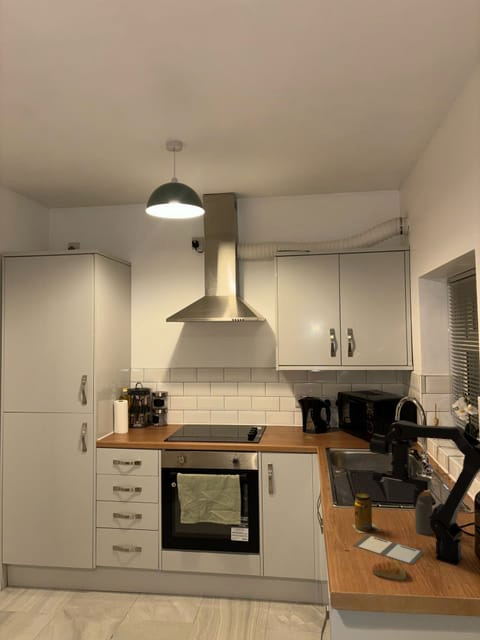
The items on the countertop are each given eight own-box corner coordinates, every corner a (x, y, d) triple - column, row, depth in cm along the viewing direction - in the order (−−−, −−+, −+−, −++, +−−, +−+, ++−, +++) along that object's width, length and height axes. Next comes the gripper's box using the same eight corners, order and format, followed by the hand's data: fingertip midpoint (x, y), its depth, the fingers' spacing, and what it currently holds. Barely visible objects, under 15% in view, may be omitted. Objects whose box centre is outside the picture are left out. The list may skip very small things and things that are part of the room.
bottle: (435, 531, 165) (434, 489, 166) (429, 536, 161) (428, 493, 161) (419, 526, 169) (418, 485, 170) (412, 531, 165) (412, 489, 165)
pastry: (374, 579, 134) (374, 566, 134) (370, 568, 140) (370, 555, 140) (407, 581, 133) (407, 568, 133) (402, 569, 139) (401, 556, 139)
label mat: (424, 552, 150) (424, 551, 150) (412, 565, 141) (412, 564, 141) (367, 534, 163) (367, 534, 163) (352, 545, 154) (352, 545, 154)
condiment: (351, 525, 171) (350, 492, 172) (373, 524, 172) (372, 491, 172) (358, 533, 164) (357, 499, 164) (381, 532, 165) (380, 498, 165)
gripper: (434, 457, 158) (435, 502, 158) (380, 449, 169) (381, 492, 169) (427, 465, 149) (427, 513, 149) (370, 456, 160) (370, 501, 159)
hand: (400, 504), depth 157 cm, fingers open, 9 cm apart
